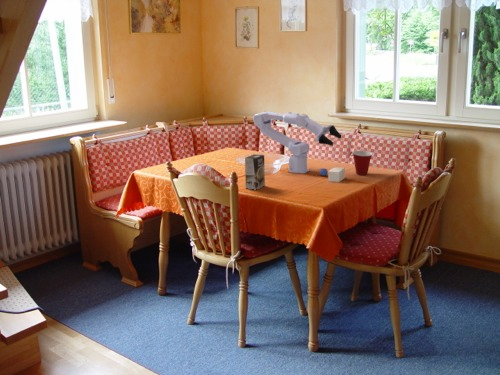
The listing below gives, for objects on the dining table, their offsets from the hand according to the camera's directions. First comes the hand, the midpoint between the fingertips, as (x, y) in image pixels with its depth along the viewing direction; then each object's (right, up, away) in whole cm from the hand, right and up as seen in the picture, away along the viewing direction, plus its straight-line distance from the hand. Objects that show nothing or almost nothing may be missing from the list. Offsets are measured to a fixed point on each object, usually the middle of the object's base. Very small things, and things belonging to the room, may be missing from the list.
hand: (337, 140), depth 324 cm
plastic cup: (+14, -17, +7) cm, 24 cm away
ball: (-6, -16, +6) cm, 18 cm away
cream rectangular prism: (0, -20, -1) cm, 20 cm away
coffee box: (-43, -25, -10) cm, 50 cm away
